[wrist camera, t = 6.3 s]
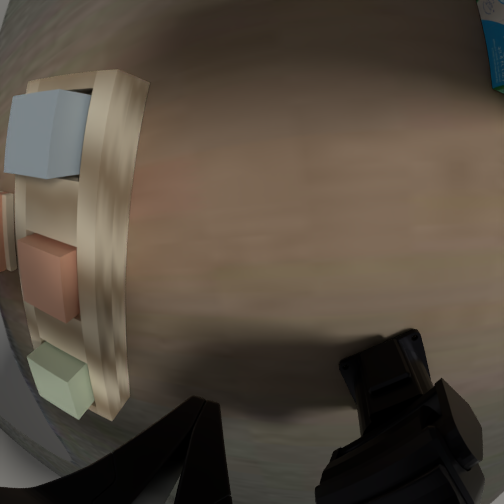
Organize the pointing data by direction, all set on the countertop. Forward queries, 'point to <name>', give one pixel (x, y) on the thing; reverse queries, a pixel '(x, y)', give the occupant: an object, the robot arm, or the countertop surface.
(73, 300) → the terracotta button
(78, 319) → the button panel
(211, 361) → the countertop surface
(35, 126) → the slate button
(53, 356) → the sage button
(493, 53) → the milk carton
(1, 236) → the terracotta sign
